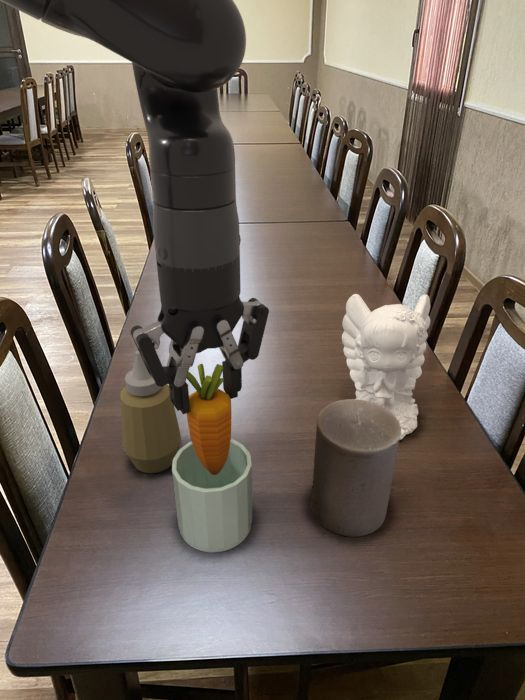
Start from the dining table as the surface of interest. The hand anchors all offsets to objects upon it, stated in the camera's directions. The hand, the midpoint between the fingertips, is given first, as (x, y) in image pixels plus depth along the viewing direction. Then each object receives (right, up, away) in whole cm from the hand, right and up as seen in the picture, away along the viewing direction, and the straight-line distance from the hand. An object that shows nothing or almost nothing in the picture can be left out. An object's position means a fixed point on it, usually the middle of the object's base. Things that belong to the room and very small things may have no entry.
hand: (207, 401), depth 57 cm
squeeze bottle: (-9, -10, +19) cm, 24 cm away
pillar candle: (+17, -15, +12) cm, 26 cm away
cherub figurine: (+24, -5, +28) cm, 37 cm away
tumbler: (0, -16, +10) cm, 19 cm away
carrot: (0, -9, +5) cm, 11 cm away
